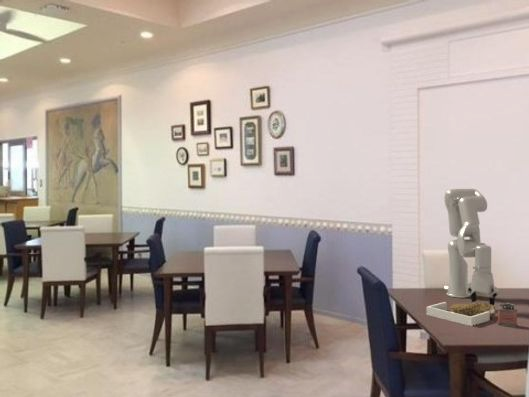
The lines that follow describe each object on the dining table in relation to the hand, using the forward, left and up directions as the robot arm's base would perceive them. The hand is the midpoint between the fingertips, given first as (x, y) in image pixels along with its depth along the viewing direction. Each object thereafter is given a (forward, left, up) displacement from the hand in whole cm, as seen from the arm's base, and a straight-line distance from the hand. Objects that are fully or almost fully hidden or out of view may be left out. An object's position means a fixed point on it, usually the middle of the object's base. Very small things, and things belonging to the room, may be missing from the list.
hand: (482, 303), depth 257 cm
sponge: (+4, -15, -4) cm, 16 cm away
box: (0, -22, -3) cm, 22 cm away
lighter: (+21, -16, -3) cm, 27 cm away
